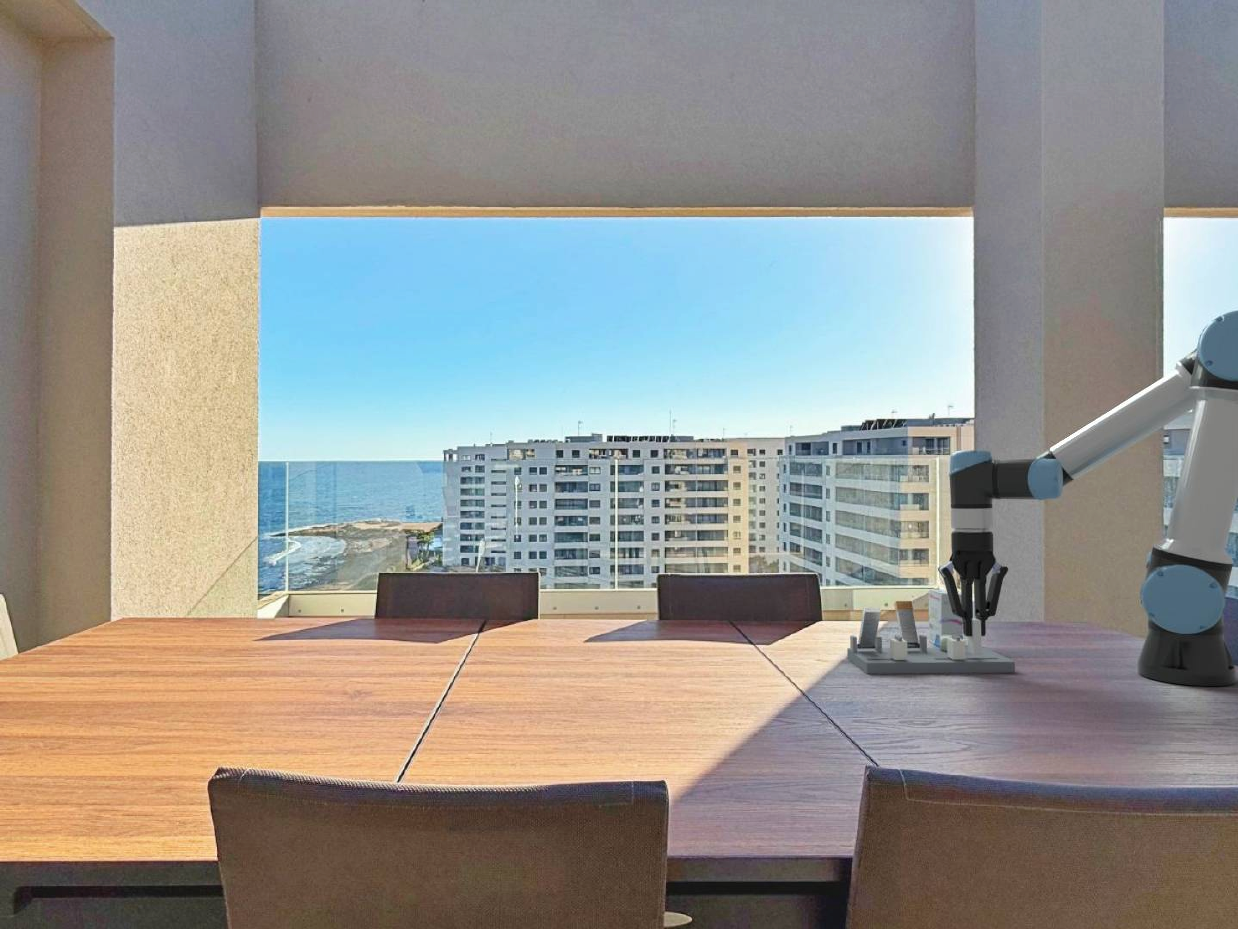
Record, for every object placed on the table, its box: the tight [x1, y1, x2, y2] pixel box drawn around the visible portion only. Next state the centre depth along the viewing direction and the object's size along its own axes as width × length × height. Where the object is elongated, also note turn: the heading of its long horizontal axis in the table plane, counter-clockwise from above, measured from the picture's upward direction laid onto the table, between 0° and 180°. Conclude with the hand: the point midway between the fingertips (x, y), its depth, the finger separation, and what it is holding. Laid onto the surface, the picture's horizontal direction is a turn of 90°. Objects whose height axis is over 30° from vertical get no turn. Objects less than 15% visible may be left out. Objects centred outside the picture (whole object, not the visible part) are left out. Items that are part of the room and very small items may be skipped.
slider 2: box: [947, 635, 966, 660], centre depth 168 cm, size 2×3×4 cm
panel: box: [846, 634, 1016, 675], centre depth 172 cm, size 28×14×5 cm, turn 90°
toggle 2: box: [893, 600, 920, 648], centre depth 178 cm, size 3×1×10 cm, turn 90°
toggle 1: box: [857, 607, 882, 649], centre depth 174 cm, size 3×1×10 cm, turn 90°
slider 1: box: [889, 635, 907, 660], centre depth 168 cm, size 2×3×4 cm
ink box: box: [928, 588, 964, 648], centre depth 192 cm, size 9×5×12 cm, turn 179°
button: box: [939, 635, 961, 651], centre depth 176 cm, size 4×4×2 cm
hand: (974, 653), depth 168 cm, fingers closed
